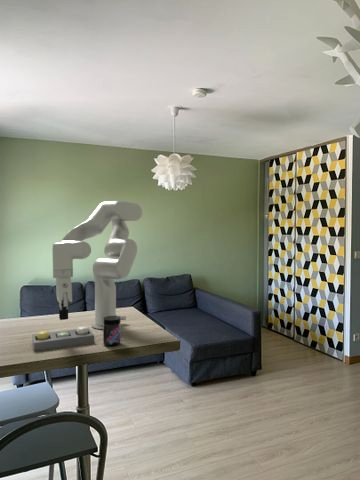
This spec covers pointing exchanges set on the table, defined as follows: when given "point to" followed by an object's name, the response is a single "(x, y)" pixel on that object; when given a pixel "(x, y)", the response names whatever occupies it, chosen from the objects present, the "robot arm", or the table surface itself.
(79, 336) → the button panel
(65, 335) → the green button
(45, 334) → the mustard button
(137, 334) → the table surface
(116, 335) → the supplement container
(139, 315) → the table surface
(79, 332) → the white button
